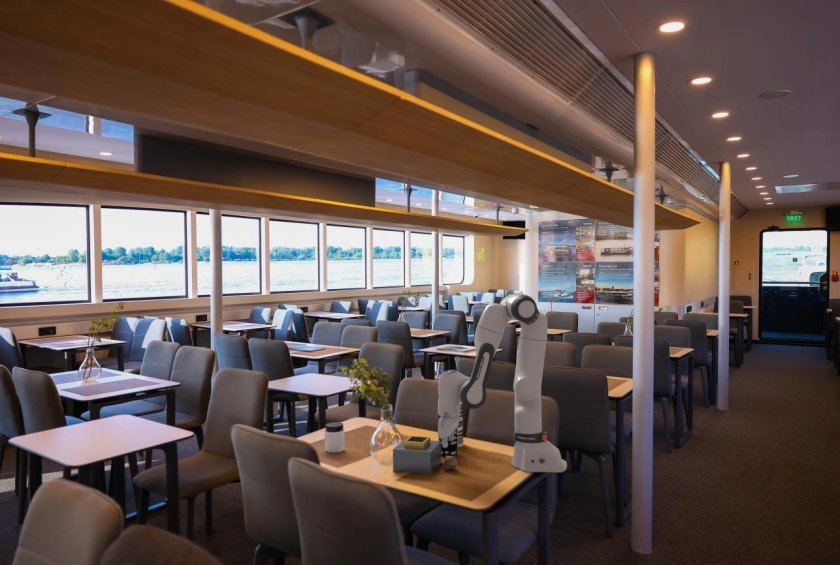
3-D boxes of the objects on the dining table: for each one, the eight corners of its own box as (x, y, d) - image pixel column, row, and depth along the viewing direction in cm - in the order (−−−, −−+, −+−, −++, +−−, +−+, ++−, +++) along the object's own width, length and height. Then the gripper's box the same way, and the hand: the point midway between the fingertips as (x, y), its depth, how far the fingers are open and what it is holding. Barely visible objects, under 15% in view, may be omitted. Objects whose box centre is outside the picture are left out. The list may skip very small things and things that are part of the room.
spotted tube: (456, 457, 252) (455, 411, 251) (437, 456, 253) (436, 411, 253) (458, 451, 260) (458, 407, 260) (440, 451, 261) (439, 407, 261)
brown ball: (458, 467, 238) (458, 454, 238) (455, 472, 233) (455, 458, 233) (445, 466, 240) (445, 453, 240) (442, 471, 235) (441, 457, 235)
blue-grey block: (441, 462, 246) (441, 435, 246) (430, 474, 231) (430, 446, 231) (406, 459, 251) (405, 432, 251) (393, 471, 236) (392, 443, 236)
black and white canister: (458, 448, 265) (457, 394, 264) (441, 445, 270) (440, 392, 269) (467, 443, 273) (466, 390, 272) (450, 440, 277) (449, 388, 277)
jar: (337, 454, 260) (336, 427, 260) (322, 452, 263) (321, 426, 263) (347, 448, 268) (347, 422, 268) (332, 446, 272) (332, 421, 271)
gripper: (449, 416, 225) (449, 452, 226) (461, 405, 245) (461, 437, 245) (434, 415, 227) (433, 450, 227) (447, 404, 247) (447, 436, 247)
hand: (448, 443), depth 236 cm, fingers open, 8 cm apart
